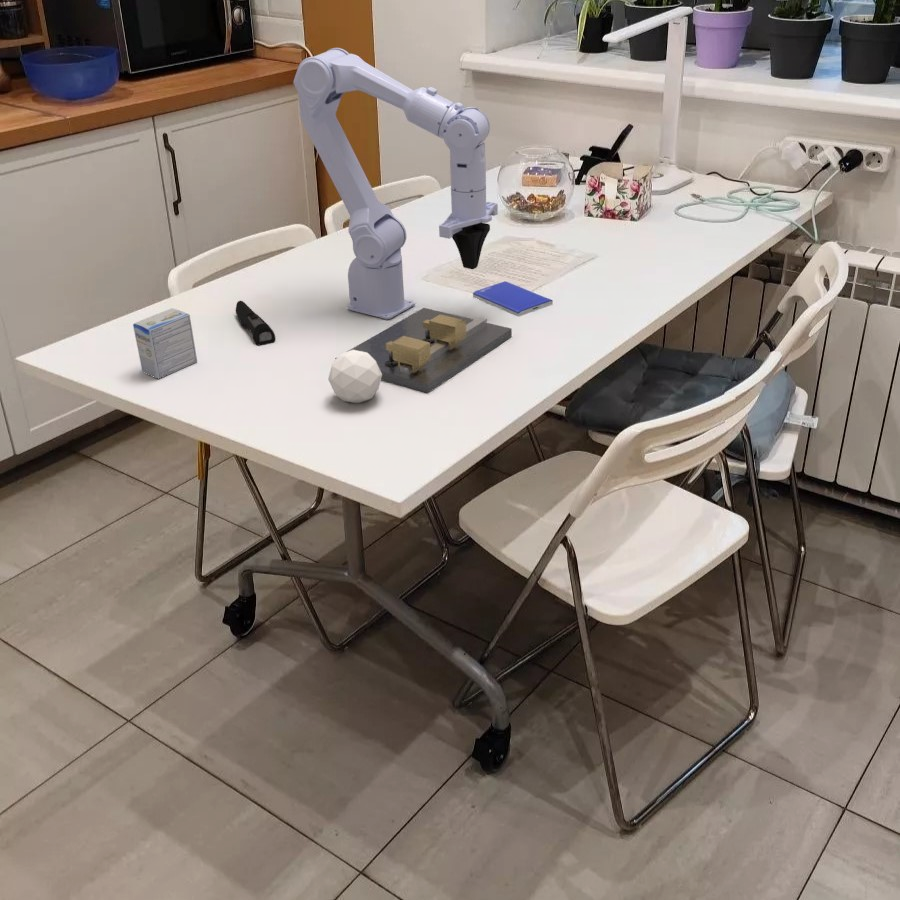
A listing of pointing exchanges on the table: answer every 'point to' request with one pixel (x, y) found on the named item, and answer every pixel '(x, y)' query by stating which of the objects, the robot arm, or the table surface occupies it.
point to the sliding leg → (445, 330)
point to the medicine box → (165, 342)
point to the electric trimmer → (254, 324)
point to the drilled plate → (441, 362)
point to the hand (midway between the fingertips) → (470, 267)
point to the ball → (355, 376)
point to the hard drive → (512, 298)
